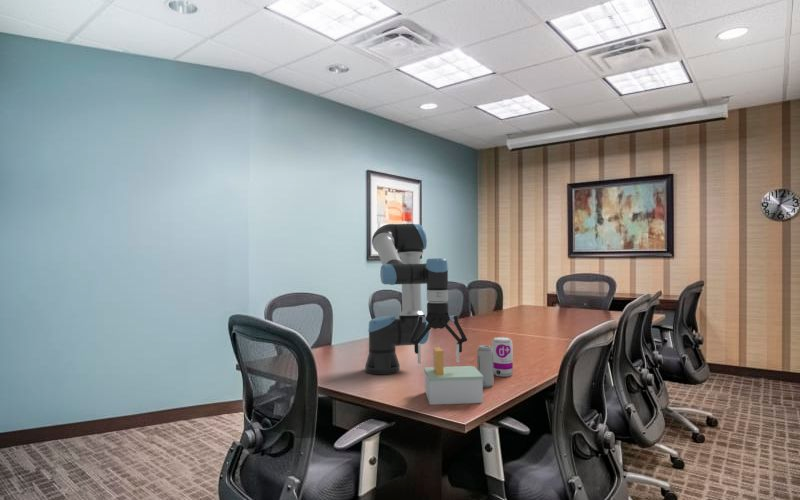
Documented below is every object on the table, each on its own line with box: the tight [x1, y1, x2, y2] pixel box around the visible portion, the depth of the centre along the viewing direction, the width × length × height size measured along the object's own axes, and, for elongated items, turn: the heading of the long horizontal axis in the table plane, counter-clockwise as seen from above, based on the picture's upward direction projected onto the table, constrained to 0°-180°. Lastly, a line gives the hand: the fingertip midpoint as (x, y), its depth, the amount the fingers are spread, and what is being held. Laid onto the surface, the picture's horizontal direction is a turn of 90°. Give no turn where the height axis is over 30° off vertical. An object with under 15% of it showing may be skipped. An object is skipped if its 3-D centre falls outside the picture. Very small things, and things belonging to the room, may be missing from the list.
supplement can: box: [491, 336, 514, 378], centre depth 189 cm, size 8×8×15 cm
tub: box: [424, 372, 484, 405], centre depth 160 cm, size 18×14×8 cm
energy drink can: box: [476, 344, 495, 388], centre depth 174 cm, size 6×6×15 cm
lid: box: [423, 346, 484, 381], centre depth 160 cm, size 19×15×10 cm
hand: (438, 362), depth 159 cm, fingers open, 13 cm apart
